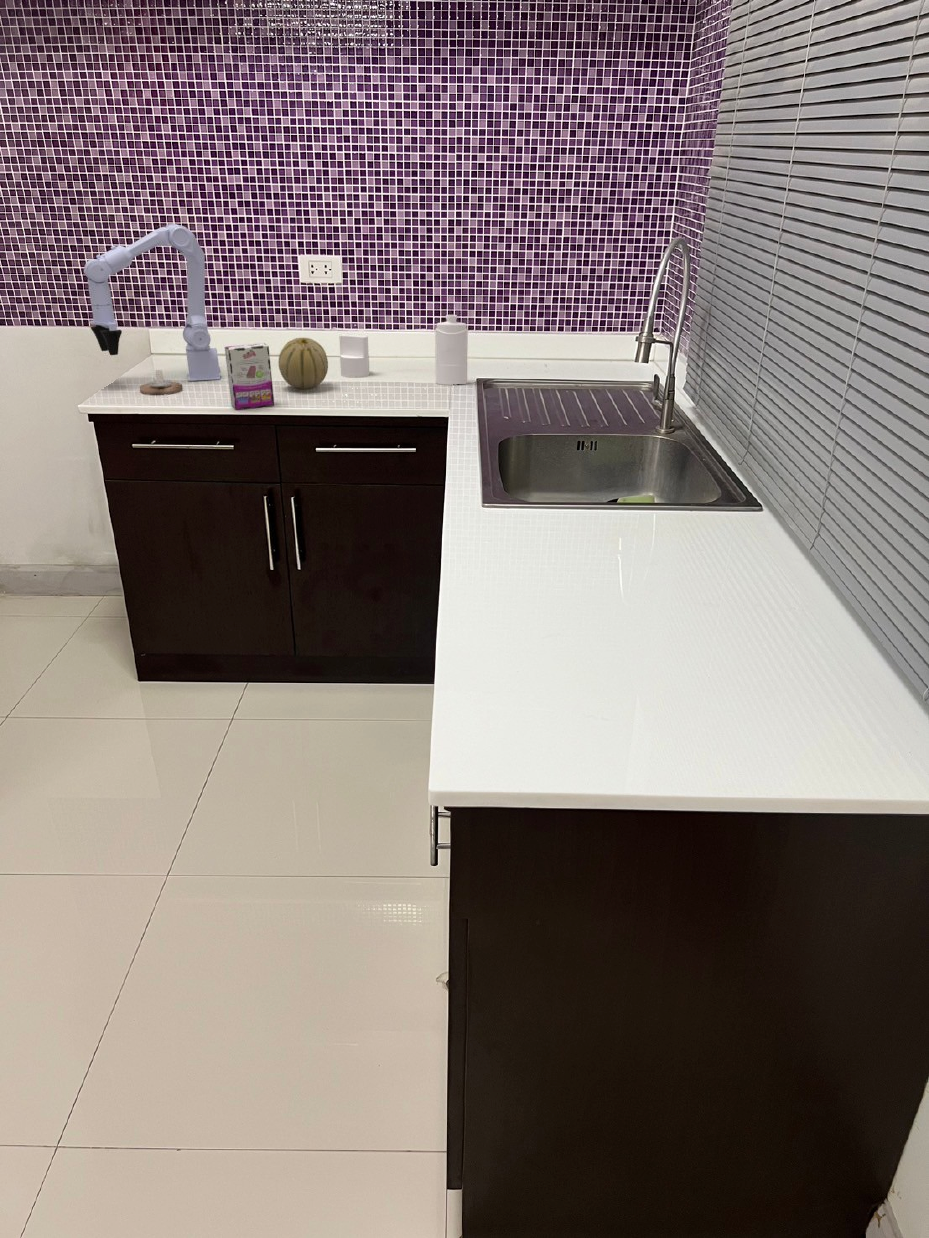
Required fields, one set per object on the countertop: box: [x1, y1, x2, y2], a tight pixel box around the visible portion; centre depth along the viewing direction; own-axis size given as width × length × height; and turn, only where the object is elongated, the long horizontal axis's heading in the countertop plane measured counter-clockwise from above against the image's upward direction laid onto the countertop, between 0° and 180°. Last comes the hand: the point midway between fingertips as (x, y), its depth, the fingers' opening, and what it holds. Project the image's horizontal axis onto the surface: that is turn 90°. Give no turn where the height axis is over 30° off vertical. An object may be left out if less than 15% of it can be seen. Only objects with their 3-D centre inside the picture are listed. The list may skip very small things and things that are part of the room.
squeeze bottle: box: [434, 314, 469, 386], centre depth 280 cm, size 10×20×5 cm
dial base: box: [139, 381, 184, 396], centre depth 273 cm, size 12×12×1 cm
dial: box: [149, 369, 172, 388], centre depth 271 cm, size 8×6×4 cm
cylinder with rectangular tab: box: [339, 333, 371, 379], centre depth 292 cm, size 9×9×12 cm
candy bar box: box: [224, 342, 275, 411], centre depth 254 cm, size 11×5×16 cm, turn 117°
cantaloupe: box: [278, 337, 329, 390], centre depth 274 cm, size 15×15×15 cm
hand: (109, 352), depth 273 cm, fingers open, 7 cm apart
